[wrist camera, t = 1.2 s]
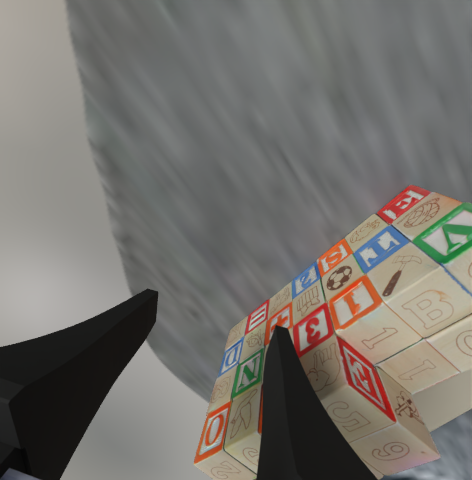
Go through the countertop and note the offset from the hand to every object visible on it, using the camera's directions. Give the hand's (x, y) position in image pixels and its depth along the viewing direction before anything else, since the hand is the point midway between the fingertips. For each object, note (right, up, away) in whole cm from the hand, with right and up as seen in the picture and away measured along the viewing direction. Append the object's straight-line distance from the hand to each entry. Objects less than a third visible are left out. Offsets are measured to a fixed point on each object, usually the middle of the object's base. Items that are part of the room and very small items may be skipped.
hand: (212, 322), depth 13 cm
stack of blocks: (+10, 0, +10) cm, 14 cm away
